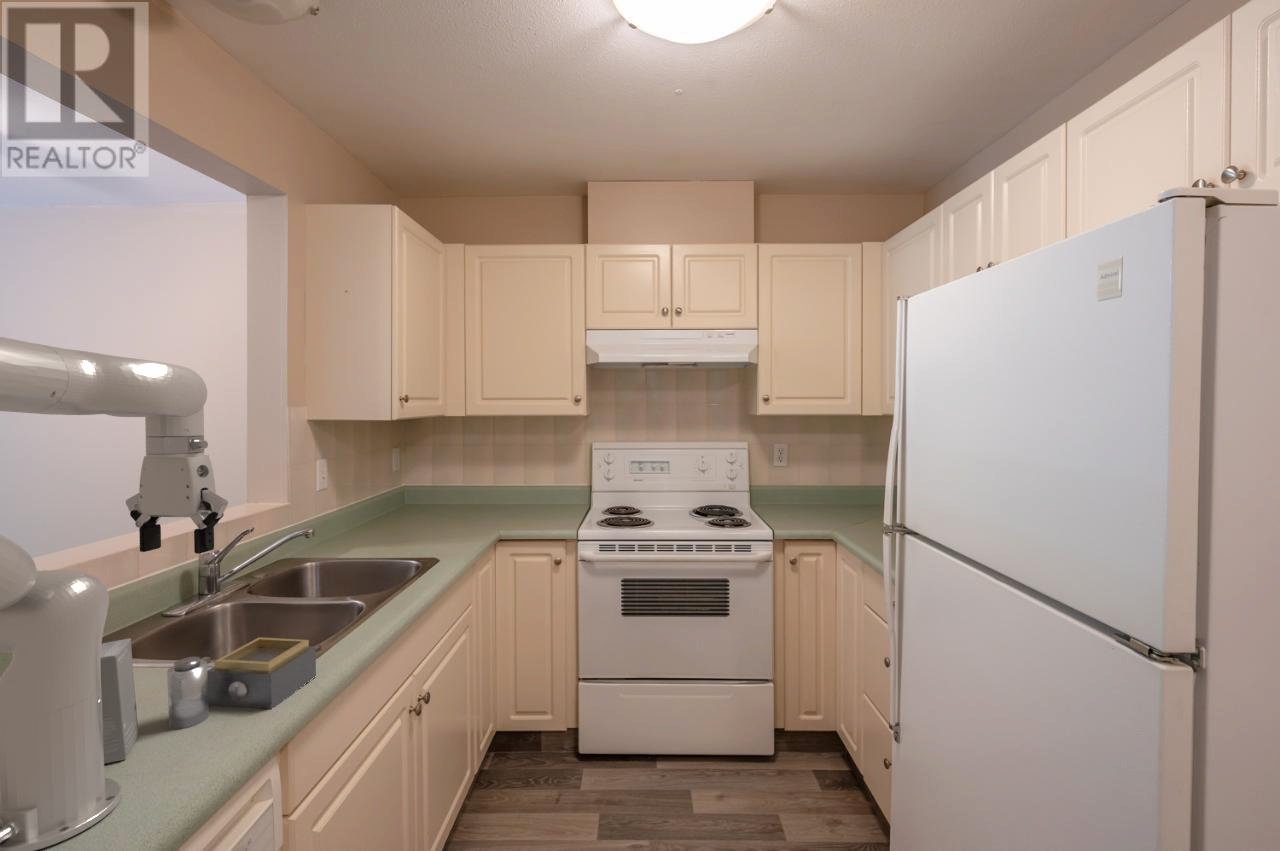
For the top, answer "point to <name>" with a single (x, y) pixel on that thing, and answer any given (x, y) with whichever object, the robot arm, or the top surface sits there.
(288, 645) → the grey gold trimmed box
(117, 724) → the skincare box
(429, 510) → the top surface
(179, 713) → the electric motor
